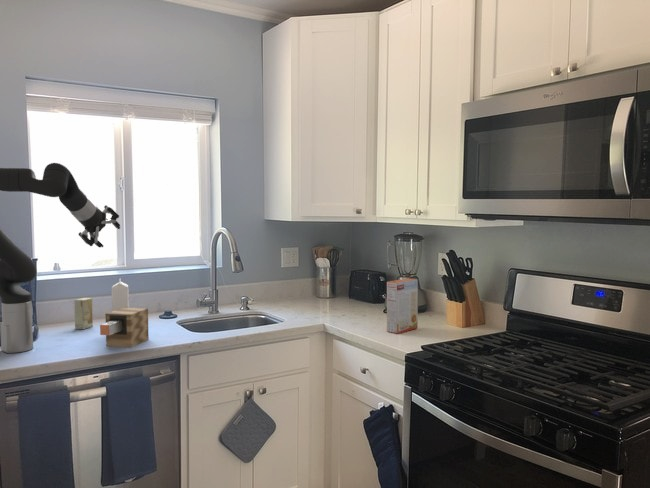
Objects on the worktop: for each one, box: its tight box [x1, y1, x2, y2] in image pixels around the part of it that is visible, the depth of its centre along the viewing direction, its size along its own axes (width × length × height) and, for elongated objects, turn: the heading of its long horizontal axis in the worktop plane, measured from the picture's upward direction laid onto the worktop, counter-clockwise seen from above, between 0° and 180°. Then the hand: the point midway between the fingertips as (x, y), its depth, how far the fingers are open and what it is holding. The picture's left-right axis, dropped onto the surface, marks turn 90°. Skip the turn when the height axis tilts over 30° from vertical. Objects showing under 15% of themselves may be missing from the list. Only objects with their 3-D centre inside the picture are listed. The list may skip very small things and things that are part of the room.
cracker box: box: [386, 277, 419, 334], centre depth 222 cm, size 14×6×21 cm, turn 134°
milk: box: [111, 277, 130, 312], centre depth 217 cm, size 6×6×22 cm
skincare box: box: [74, 297, 94, 330], centre depth 226 cm, size 6×4×12 cm
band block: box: [105, 307, 150, 348], centre depth 202 cm, size 12×10×12 cm
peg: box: [99, 319, 124, 336], centre depth 194 cm, size 12×4×4 cm, turn 168°
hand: (109, 236), depth 193 cm, fingers open, 8 cm apart
